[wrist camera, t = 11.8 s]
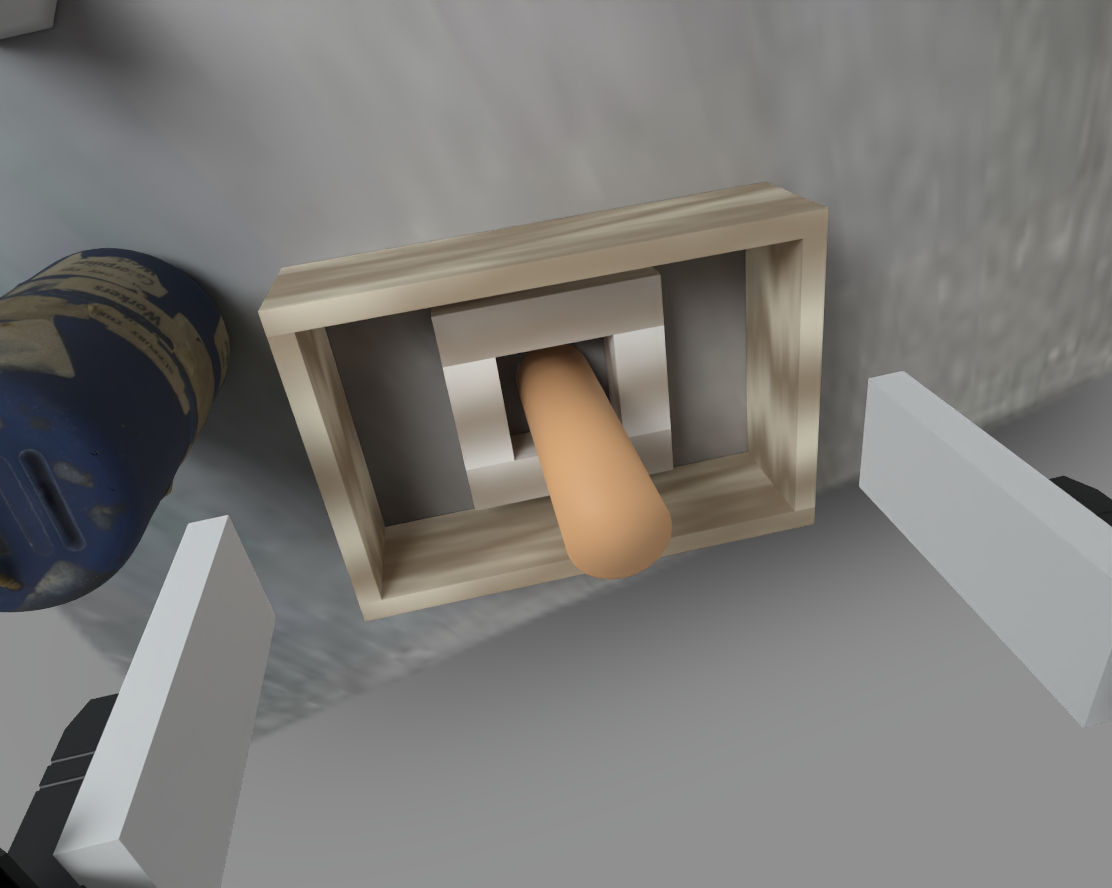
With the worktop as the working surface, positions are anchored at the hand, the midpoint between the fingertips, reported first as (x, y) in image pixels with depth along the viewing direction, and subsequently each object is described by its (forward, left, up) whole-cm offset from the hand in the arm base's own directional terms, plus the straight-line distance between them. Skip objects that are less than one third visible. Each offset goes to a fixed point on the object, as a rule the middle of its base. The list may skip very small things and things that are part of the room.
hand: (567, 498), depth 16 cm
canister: (+3, -18, -27) cm, 33 cm away
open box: (+10, +3, -27) cm, 29 cm away
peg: (+10, +3, -27) cm, 29 cm away
